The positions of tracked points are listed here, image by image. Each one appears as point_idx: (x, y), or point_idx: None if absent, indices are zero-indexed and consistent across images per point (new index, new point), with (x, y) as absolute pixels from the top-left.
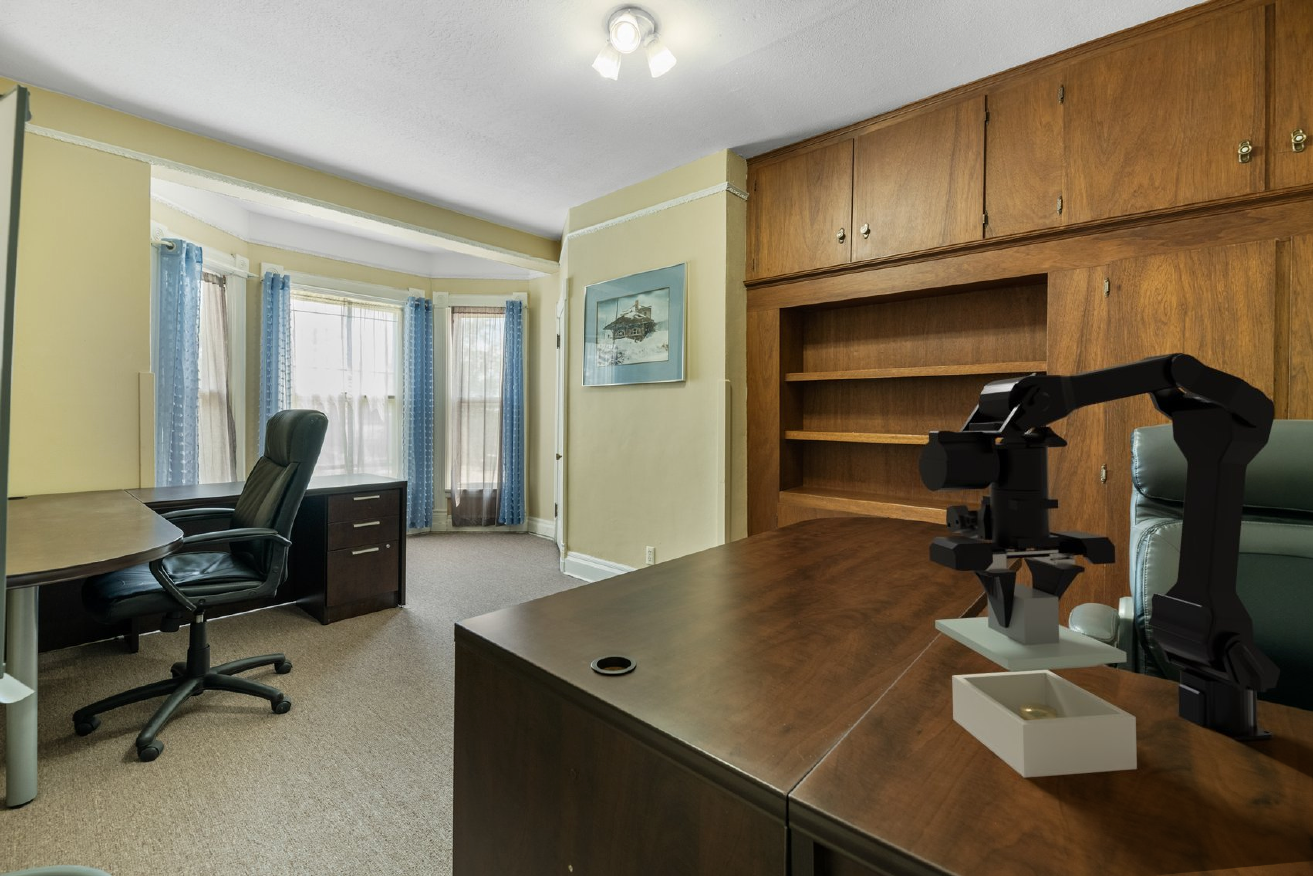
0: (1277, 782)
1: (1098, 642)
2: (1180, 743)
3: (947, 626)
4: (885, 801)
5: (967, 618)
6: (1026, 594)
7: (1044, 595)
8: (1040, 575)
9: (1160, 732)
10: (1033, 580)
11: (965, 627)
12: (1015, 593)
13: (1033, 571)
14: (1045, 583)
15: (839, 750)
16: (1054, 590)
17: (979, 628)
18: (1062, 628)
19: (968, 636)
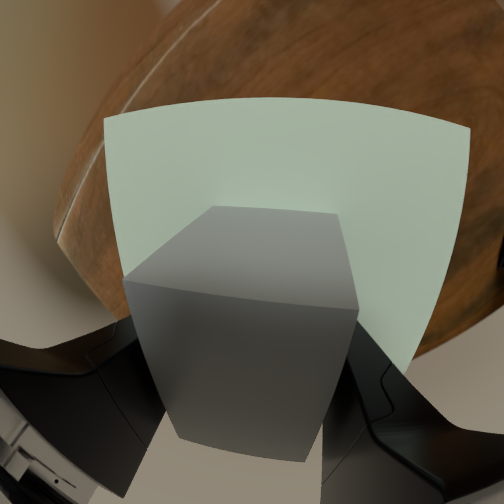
0: (459, 324)
1: (401, 365)
2: (468, 255)
3: (109, 177)
4: (104, 269)
5: (201, 103)
6: (219, 429)
7: (275, 450)
8: (348, 476)
9: (475, 230)
10: (360, 418)
11: (146, 195)
12: (185, 411)
13: (369, 466)
14: (337, 460)
15: (85, 189)
16: (322, 464)
17: (180, 209)
18: (431, 275)
19: (126, 261)
